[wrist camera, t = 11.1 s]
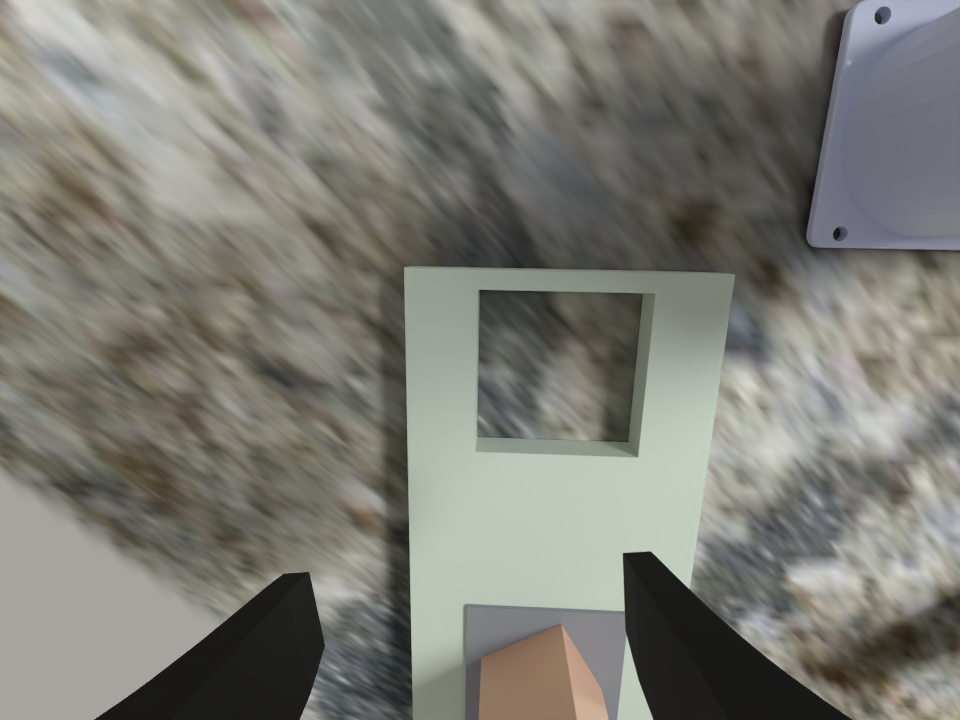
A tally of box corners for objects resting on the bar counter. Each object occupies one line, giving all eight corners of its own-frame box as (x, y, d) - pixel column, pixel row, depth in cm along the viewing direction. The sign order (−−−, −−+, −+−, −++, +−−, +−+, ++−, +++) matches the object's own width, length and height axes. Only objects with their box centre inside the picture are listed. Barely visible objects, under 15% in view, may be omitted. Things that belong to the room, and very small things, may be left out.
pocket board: (716, 271, 18) (738, 274, 17) (655, 716, 23) (667, 752, 22) (411, 265, 19) (402, 267, 17) (418, 703, 24) (412, 737, 22)
